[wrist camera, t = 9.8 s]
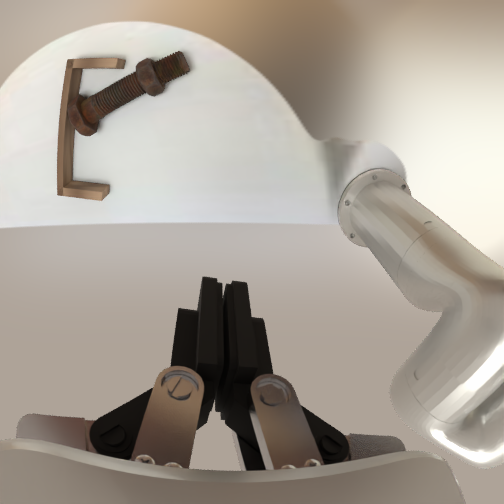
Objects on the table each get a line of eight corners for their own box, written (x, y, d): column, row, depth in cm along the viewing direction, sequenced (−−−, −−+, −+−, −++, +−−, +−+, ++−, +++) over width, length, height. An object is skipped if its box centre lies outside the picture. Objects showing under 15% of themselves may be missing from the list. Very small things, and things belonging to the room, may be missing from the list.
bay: (125, 60, 28) (117, 58, 26) (109, 192, 37) (101, 200, 35) (77, 60, 27) (67, 59, 24) (66, 187, 36) (57, 195, 33)
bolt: (190, 68, 32) (91, 120, 33) (176, 37, 27) (72, 95, 29) (196, 86, 29) (85, 144, 30) (180, 51, 25) (63, 117, 26)
